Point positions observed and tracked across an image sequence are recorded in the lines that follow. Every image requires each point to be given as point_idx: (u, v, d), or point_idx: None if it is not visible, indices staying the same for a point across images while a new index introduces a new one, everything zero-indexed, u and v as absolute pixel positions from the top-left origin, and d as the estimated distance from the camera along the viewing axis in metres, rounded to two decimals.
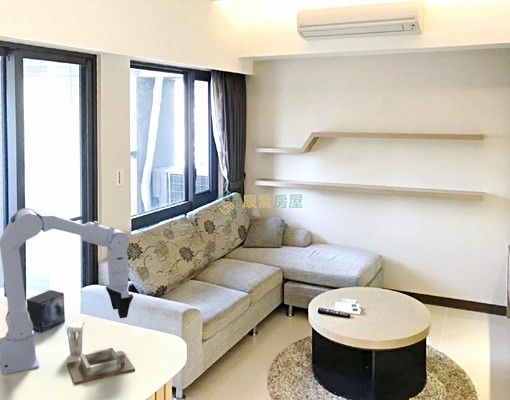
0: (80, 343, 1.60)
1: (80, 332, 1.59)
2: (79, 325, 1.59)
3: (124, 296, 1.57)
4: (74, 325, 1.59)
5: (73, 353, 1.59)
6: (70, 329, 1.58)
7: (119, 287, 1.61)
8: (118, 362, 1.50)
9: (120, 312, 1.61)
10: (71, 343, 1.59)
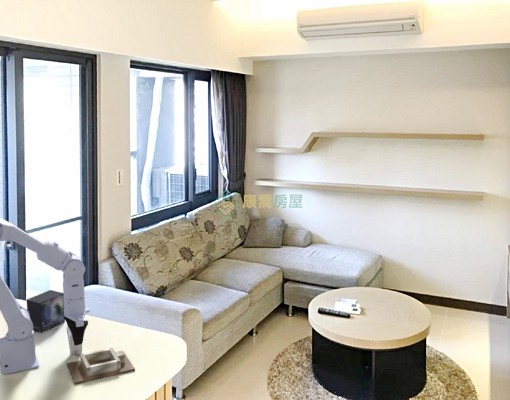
0: None
1: None
2: None
3: (79, 325, 1.52)
4: None
5: (73, 353, 1.59)
6: None
7: (75, 315, 1.56)
8: (118, 362, 1.50)
9: (75, 339, 1.57)
10: (71, 343, 1.59)
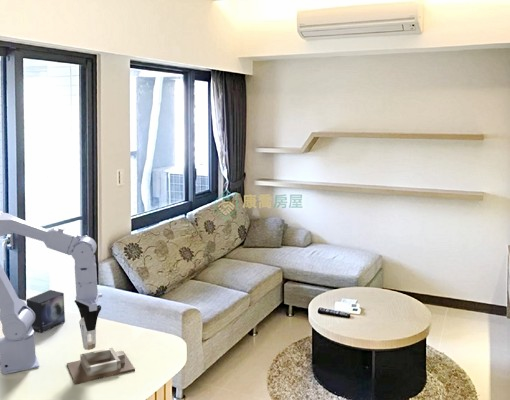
0: (93, 337, 1.54)
1: None
2: None
3: (92, 309, 1.46)
4: None
5: (86, 347, 1.54)
6: (83, 323, 1.52)
7: (87, 299, 1.50)
8: (118, 362, 1.50)
9: (87, 324, 1.51)
10: (84, 337, 1.53)
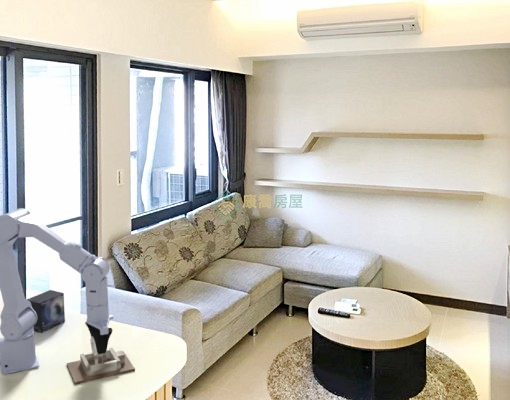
0: (104, 355, 1.51)
1: None
2: None
3: (103, 333, 1.44)
4: None
5: None
6: (94, 340, 1.49)
7: (98, 322, 1.47)
8: (118, 362, 1.50)
9: (98, 347, 1.48)
10: (95, 355, 1.50)
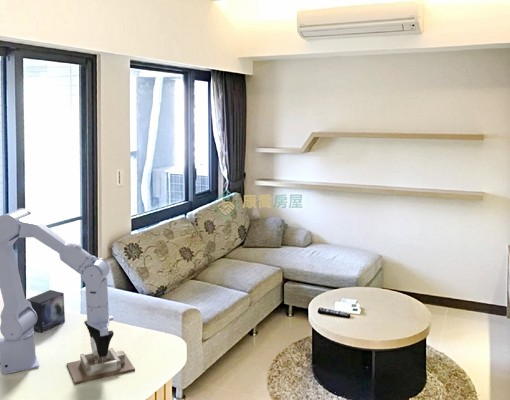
0: None
1: None
2: None
3: (103, 334, 1.44)
4: None
5: None
6: None
7: (98, 323, 1.47)
8: (118, 362, 1.50)
9: (99, 350, 1.47)
10: (95, 355, 1.50)
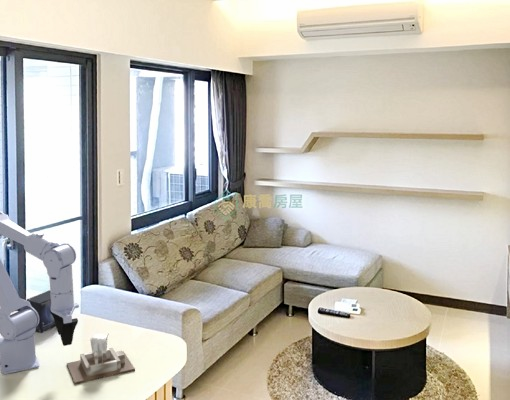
0: (104, 355, 1.51)
1: (104, 344, 1.50)
2: (103, 336, 1.51)
3: (66, 321, 1.39)
4: (98, 336, 1.50)
5: None
6: (94, 340, 1.49)
7: (62, 310, 1.42)
8: (118, 362, 1.50)
9: (63, 339, 1.42)
10: (95, 355, 1.50)
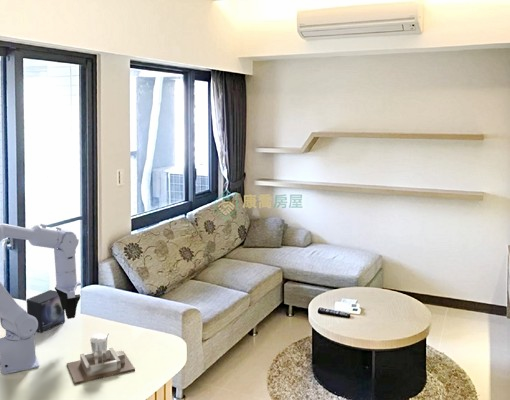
0: (104, 355, 1.51)
1: (104, 344, 1.50)
2: (103, 336, 1.51)
3: (70, 296, 1.56)
4: (98, 336, 1.50)
5: None
6: (94, 340, 1.49)
7: (66, 287, 1.59)
8: (118, 362, 1.50)
9: (67, 312, 1.59)
10: (95, 355, 1.50)
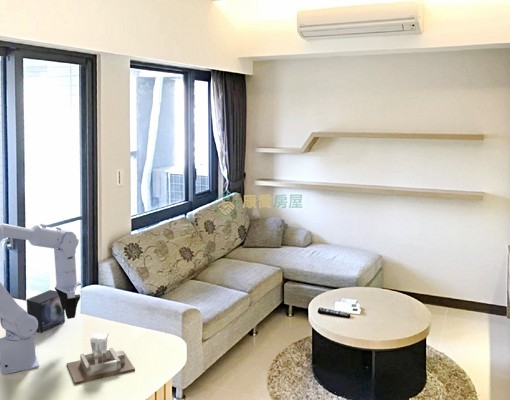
0: (104, 355, 1.51)
1: (104, 344, 1.50)
2: (103, 336, 1.51)
3: (70, 296, 1.56)
4: (98, 336, 1.50)
5: None
6: (94, 340, 1.49)
7: (66, 287, 1.59)
8: (118, 362, 1.50)
9: (67, 312, 1.59)
10: (95, 355, 1.50)
